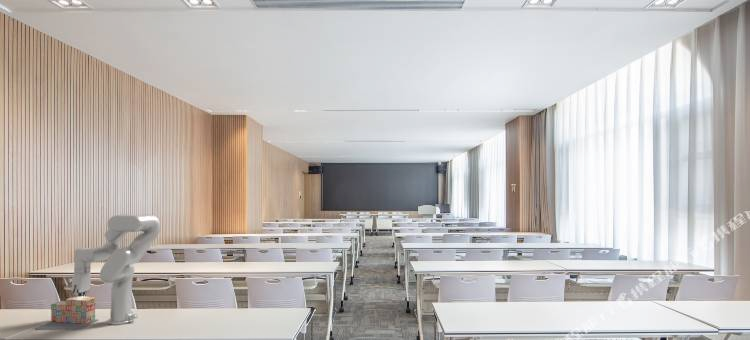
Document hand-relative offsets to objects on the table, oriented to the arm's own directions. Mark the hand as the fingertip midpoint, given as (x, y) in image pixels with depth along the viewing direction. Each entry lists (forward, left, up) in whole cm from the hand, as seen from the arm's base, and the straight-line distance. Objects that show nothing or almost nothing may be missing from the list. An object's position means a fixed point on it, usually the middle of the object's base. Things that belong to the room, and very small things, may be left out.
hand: (81, 304), depth 245 cm
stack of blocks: (0, +6, -7) cm, 9 cm away
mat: (0, +11, -8) cm, 13 cm away
